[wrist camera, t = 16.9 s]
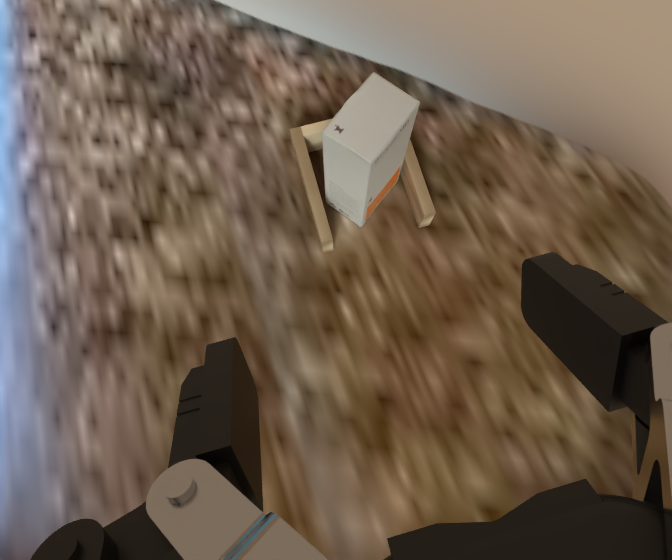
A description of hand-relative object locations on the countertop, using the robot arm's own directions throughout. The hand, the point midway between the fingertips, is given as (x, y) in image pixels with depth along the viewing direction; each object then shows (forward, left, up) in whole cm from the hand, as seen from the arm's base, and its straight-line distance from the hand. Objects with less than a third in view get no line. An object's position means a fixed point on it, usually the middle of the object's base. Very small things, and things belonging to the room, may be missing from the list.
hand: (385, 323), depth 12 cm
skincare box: (+5, +15, -27) cm, 31 cm away
